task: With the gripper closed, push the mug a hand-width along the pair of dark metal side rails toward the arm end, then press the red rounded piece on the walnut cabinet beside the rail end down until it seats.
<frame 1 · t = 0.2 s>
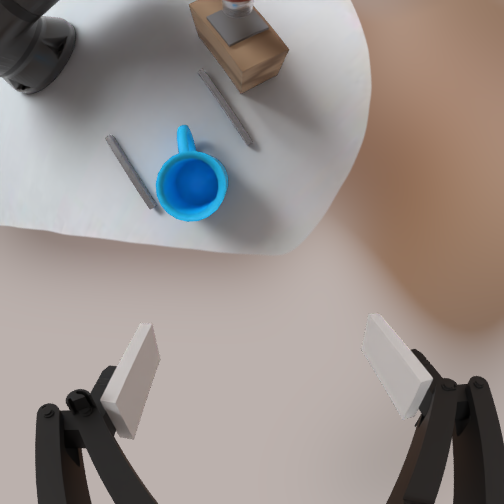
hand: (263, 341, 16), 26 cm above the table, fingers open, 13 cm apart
mug: (196, 169, 38), on the table
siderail: (176, 137, 36), on the table
end cabinet: (237, 53, 33), on the table
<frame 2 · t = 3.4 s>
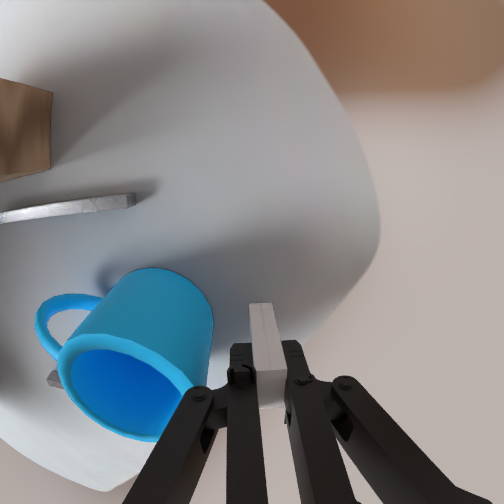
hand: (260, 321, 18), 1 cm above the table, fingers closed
mug: (135, 309, 19), on the table, touching gripper
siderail: (77, 308, 19), on the table
end cabinet: (2, 147, 14), on the table
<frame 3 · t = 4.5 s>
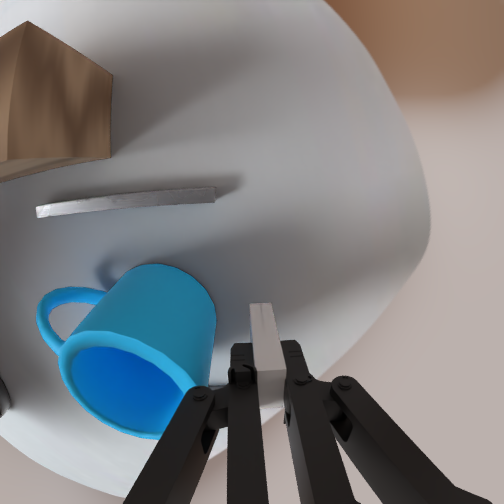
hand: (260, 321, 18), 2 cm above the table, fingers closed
mug: (138, 305, 19), on the table, touching gripper
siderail: (135, 309, 19), on the table
end cabinet: (44, 132, 15), on the table
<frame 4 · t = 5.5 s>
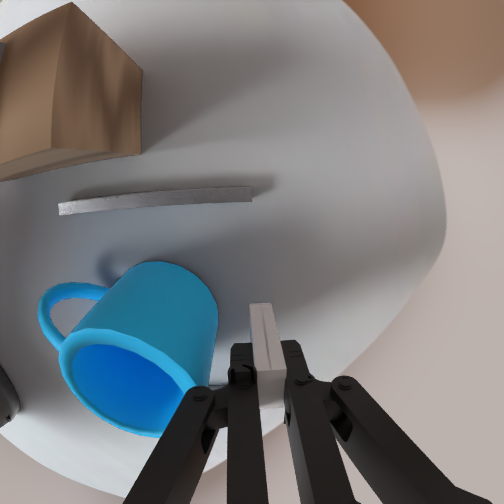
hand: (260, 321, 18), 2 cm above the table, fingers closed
mug: (140, 301, 19), on the table, touching gripper
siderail: (163, 309, 20), on the table
end cabinet: (66, 126, 15), on the table
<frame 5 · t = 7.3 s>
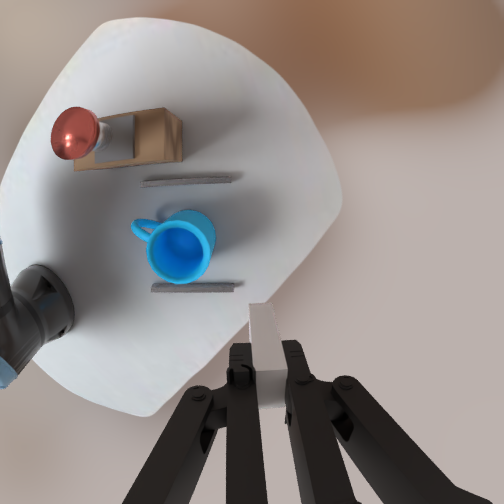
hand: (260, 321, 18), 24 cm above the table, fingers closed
mug: (177, 231, 41), on the table
red rounded piece: (86, 135, 21), point 17 cm above the table, slide at 3.0 cm
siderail: (188, 235, 41), on the table
end cabinet: (142, 144, 37), on the table
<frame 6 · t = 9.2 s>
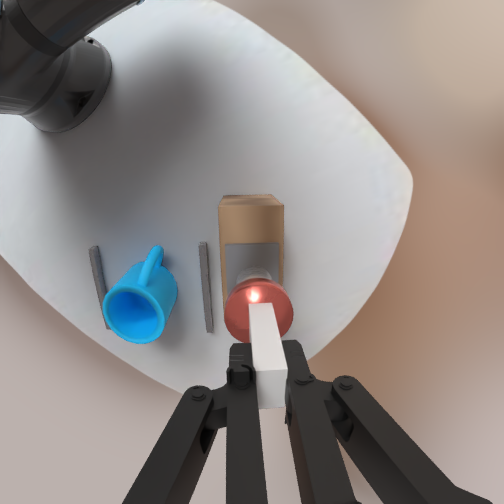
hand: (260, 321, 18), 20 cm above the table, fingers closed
mug: (154, 276, 38), on the table
red rounded piece: (256, 298, 21), point 16 cm above the table, slide at 2.7 cm, touching gripper
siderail: (151, 288, 38), on the table
end cabinet: (248, 240, 37), on the table
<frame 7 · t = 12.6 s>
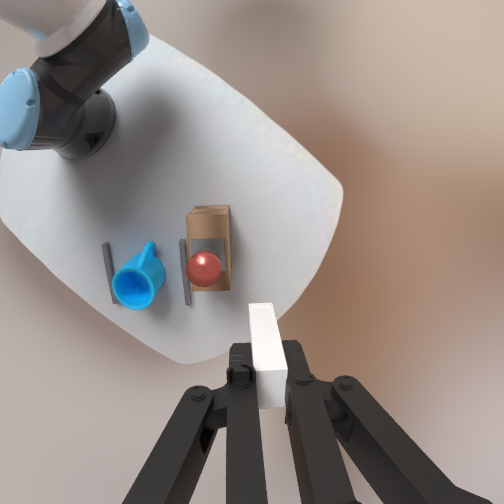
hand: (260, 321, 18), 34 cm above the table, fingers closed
mug: (148, 263, 53), on the table
red rounded piece: (205, 263, 38), point 14 cm above the table, slide at 0.3 cm
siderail: (146, 272, 53), on the table
end cabinet: (213, 238, 52), on the table
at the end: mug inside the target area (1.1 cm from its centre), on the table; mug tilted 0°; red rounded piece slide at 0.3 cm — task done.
